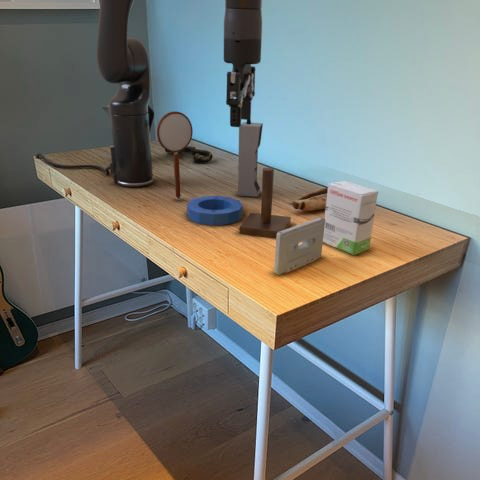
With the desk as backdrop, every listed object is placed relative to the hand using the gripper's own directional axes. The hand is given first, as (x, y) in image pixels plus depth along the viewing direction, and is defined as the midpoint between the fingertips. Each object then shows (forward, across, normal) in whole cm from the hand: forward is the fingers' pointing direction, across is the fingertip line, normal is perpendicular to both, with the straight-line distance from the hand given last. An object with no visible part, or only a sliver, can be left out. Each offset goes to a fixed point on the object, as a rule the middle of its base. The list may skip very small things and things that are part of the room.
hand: (240, 122), depth 106 cm
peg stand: (+18, +12, +9) cm, 24 cm away
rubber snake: (+19, -39, -26) cm, 51 cm away
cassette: (+19, +27, +18) cm, 38 cm away
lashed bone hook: (+19, -6, +18) cm, 27 cm away
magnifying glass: (+19, 0, -15) cm, 24 cm away
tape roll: (+19, +8, -4) cm, 20 cm away
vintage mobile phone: (+19, -9, 0) cm, 21 cm away
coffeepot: (+19, -31, -42) cm, 55 cm away
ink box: (+19, +16, +26) cm, 36 cm away
